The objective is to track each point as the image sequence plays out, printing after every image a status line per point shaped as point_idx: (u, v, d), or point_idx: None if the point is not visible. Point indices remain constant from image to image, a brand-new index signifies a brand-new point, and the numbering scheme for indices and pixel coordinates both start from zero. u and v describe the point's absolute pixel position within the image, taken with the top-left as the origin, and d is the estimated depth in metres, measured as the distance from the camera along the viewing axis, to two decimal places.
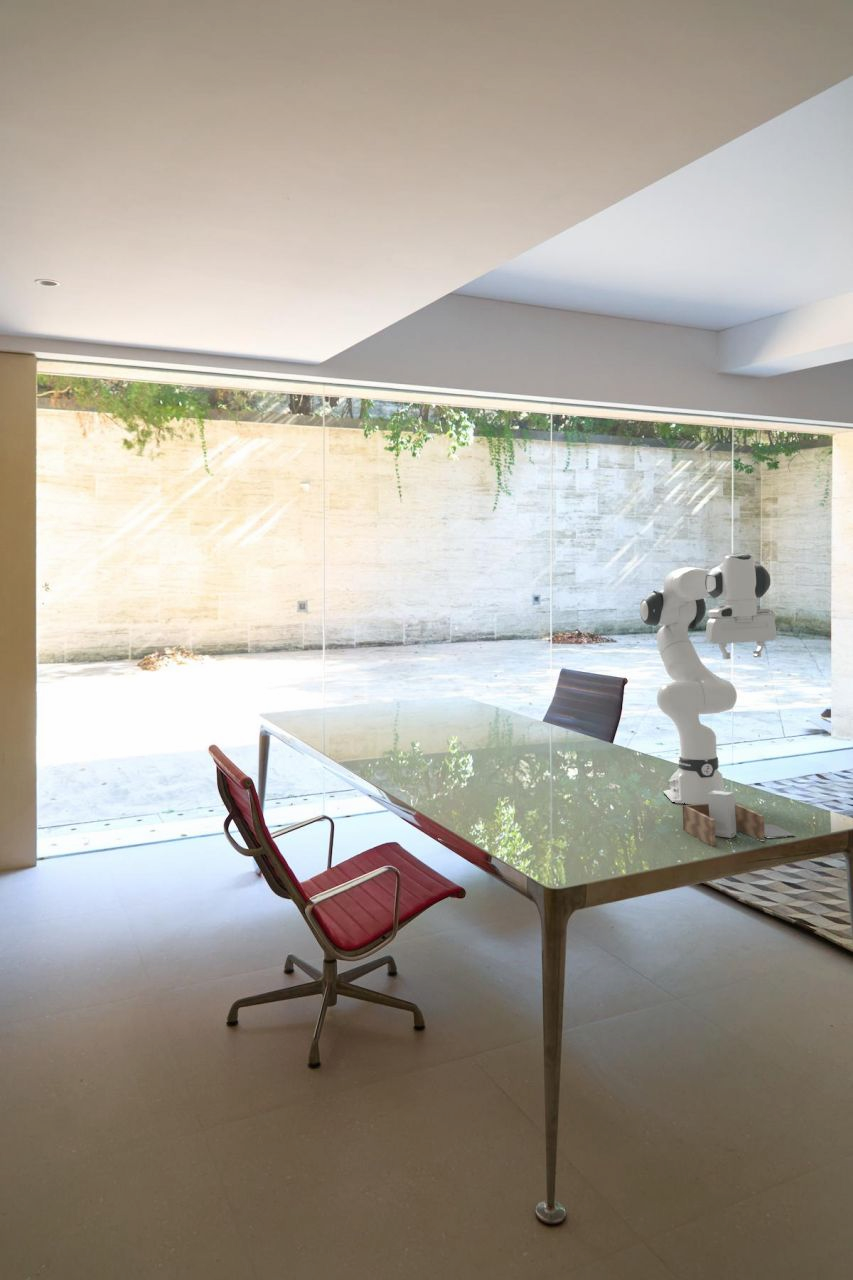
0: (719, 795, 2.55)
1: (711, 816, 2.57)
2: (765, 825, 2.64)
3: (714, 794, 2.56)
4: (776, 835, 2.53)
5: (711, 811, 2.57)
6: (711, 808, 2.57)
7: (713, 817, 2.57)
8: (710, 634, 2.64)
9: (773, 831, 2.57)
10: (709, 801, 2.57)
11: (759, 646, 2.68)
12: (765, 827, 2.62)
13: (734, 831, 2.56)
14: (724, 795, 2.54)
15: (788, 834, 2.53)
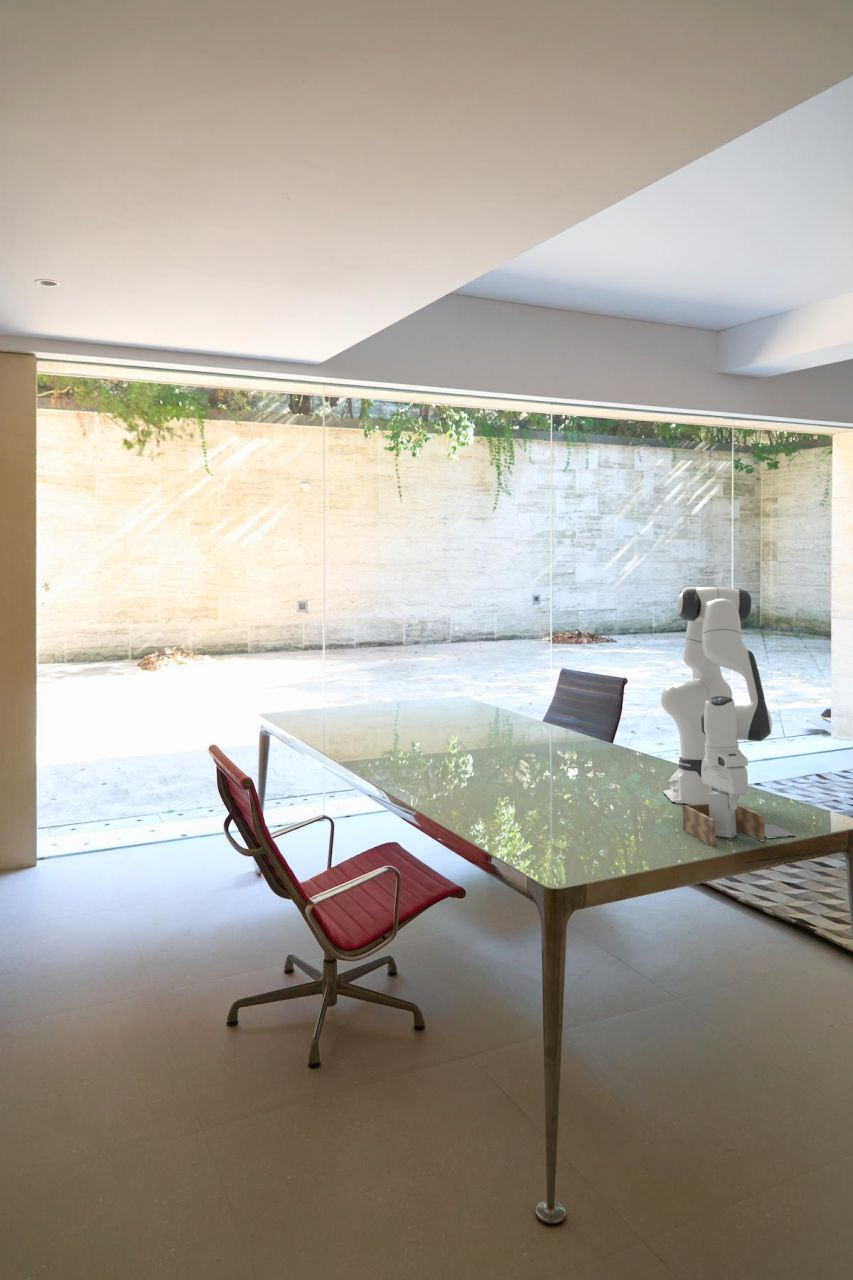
0: (719, 795, 2.55)
1: (711, 816, 2.57)
2: (765, 825, 2.64)
3: (714, 794, 2.56)
4: (776, 835, 2.53)
5: (711, 811, 2.57)
6: (711, 808, 2.57)
7: (713, 817, 2.57)
8: (745, 784, 2.46)
9: (773, 831, 2.57)
10: (709, 801, 2.57)
11: None
12: (765, 827, 2.62)
13: (734, 831, 2.56)
14: (724, 795, 2.54)
15: (788, 834, 2.53)
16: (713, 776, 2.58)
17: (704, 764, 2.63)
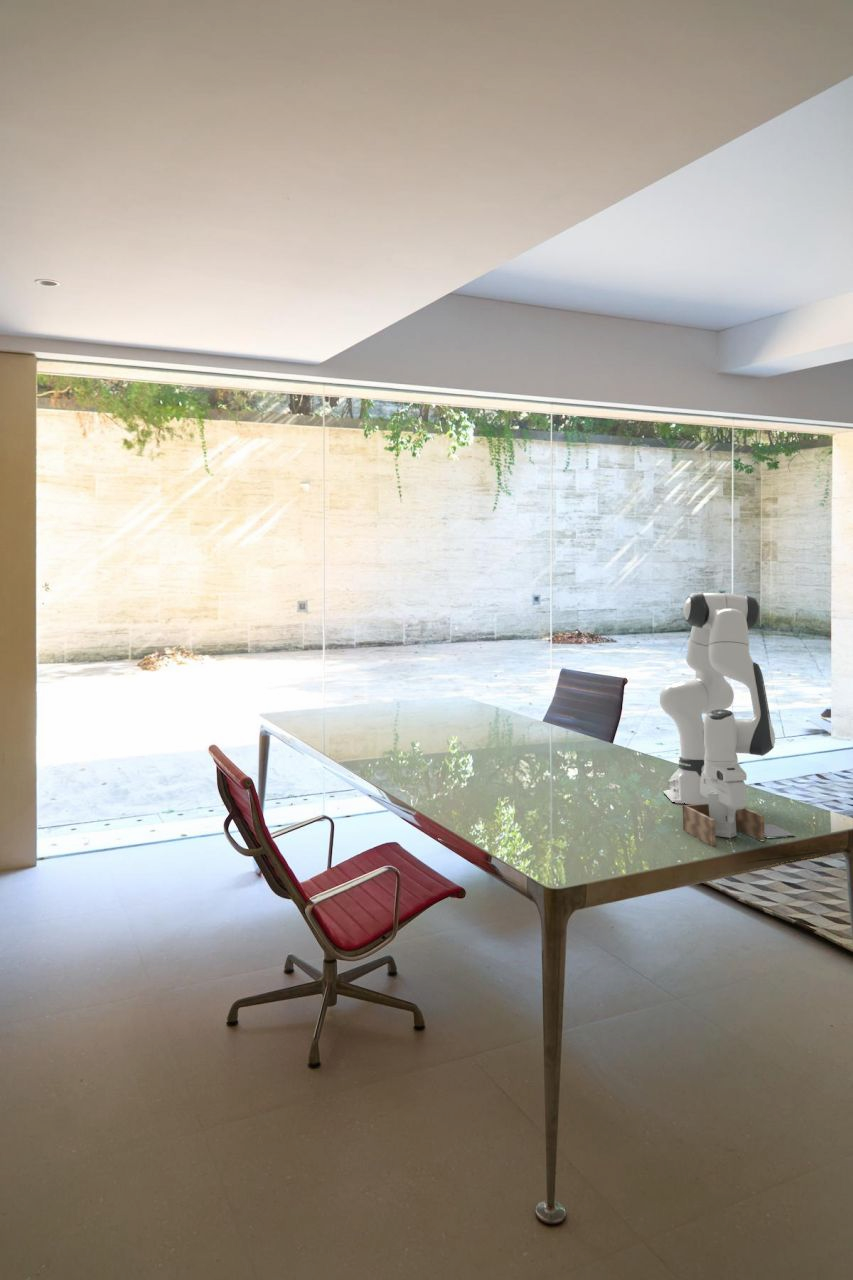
0: None
1: (711, 816, 2.57)
2: (765, 825, 2.64)
3: (714, 794, 2.56)
4: (776, 835, 2.53)
5: (711, 811, 2.57)
6: (711, 808, 2.57)
7: (713, 817, 2.57)
8: (743, 799, 2.47)
9: (773, 831, 2.57)
10: (709, 801, 2.57)
11: None
12: (765, 827, 2.62)
13: (734, 831, 2.56)
14: None
15: (788, 834, 2.53)
16: (712, 789, 2.58)
17: (703, 776, 2.63)
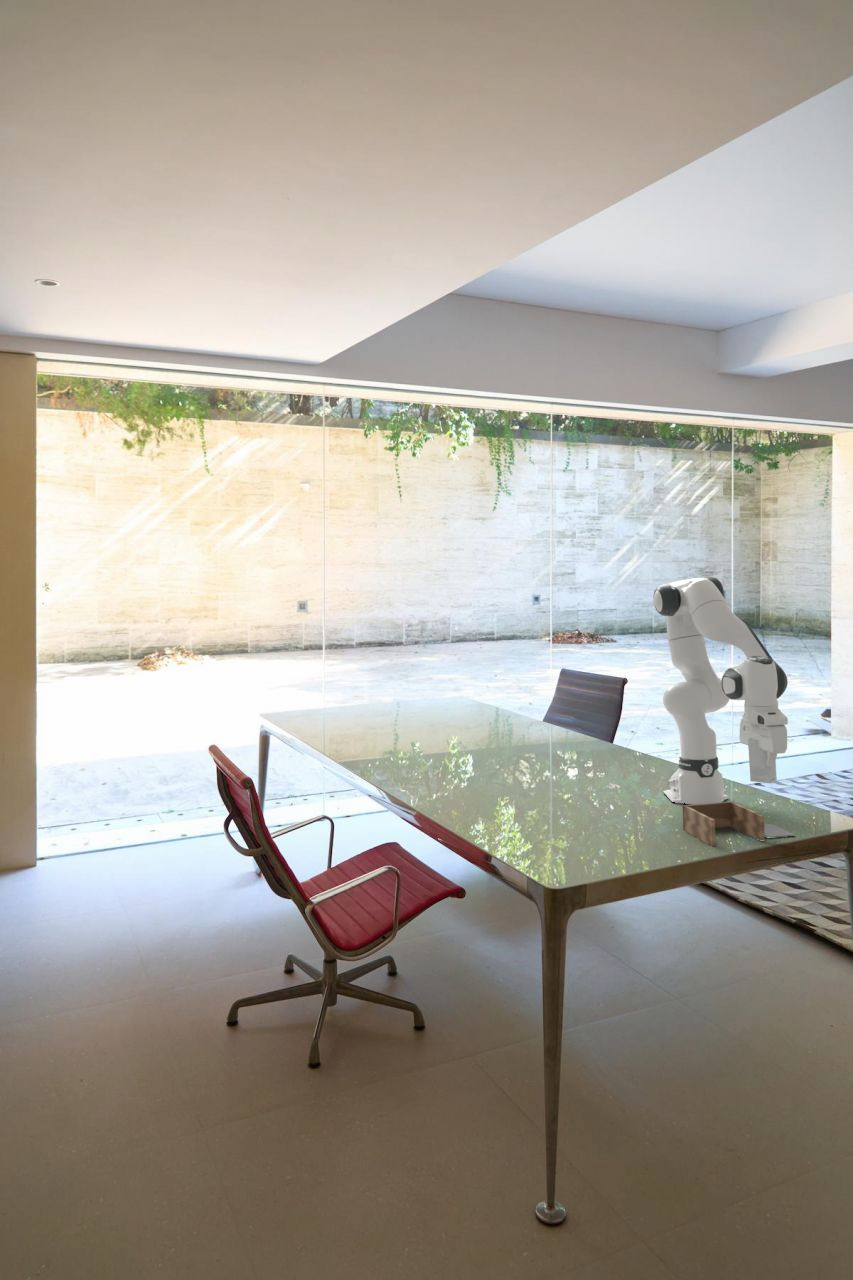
0: None
1: (751, 762, 2.57)
2: (765, 825, 2.64)
3: (754, 740, 2.56)
4: (776, 835, 2.53)
5: (751, 757, 2.57)
6: (751, 754, 2.57)
7: (753, 763, 2.57)
8: (784, 743, 2.47)
9: (773, 831, 2.57)
10: (749, 747, 2.57)
11: None
12: (765, 827, 2.62)
13: (774, 777, 2.56)
14: None
15: (788, 834, 2.53)
16: (752, 735, 2.59)
17: (743, 723, 2.63)
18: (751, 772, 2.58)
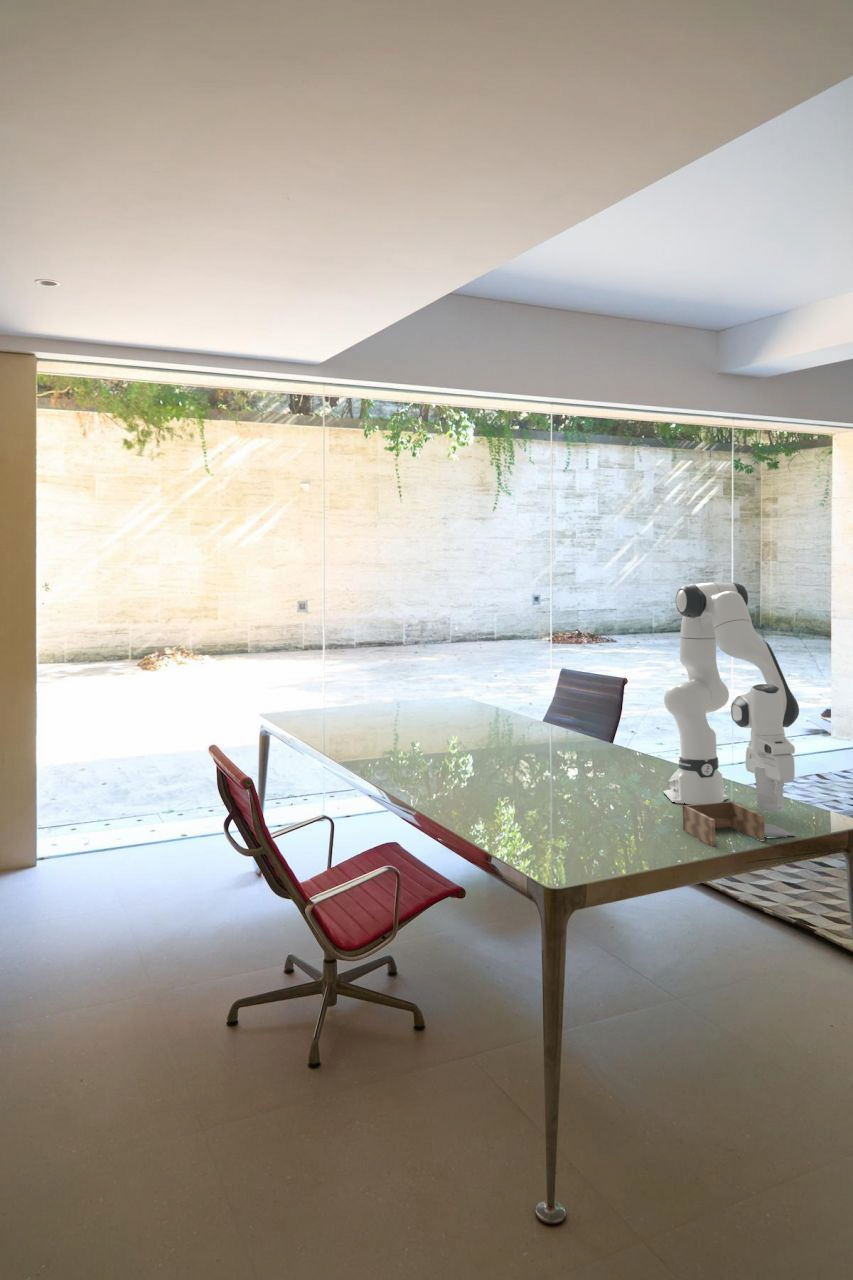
0: None
1: (758, 790, 2.58)
2: (765, 825, 2.64)
3: (761, 768, 2.57)
4: (776, 835, 2.53)
5: (758, 785, 2.57)
6: (758, 782, 2.57)
7: (760, 791, 2.57)
8: (792, 772, 2.48)
9: (773, 831, 2.57)
10: (756, 775, 2.58)
11: None
12: (765, 827, 2.62)
13: (782, 805, 2.56)
14: None
15: (788, 834, 2.53)
16: (759, 763, 2.59)
17: (749, 751, 2.64)
18: (758, 800, 2.58)
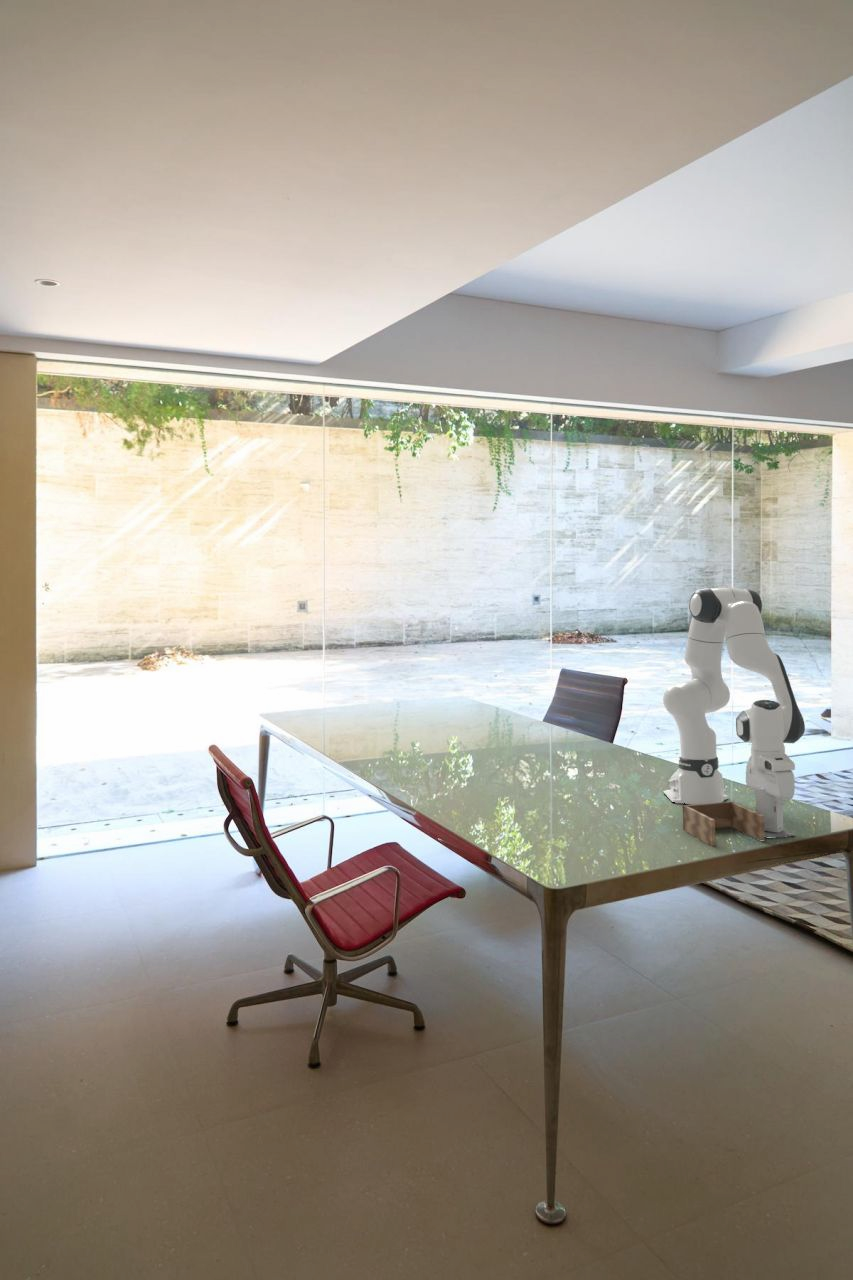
0: None
1: (758, 811, 2.58)
2: None
3: (761, 789, 2.57)
4: (776, 835, 2.53)
5: (758, 806, 2.58)
6: (758, 803, 2.58)
7: (760, 812, 2.58)
8: (792, 789, 2.48)
9: None
10: (756, 796, 2.58)
11: None
12: None
13: (781, 826, 2.57)
14: None
15: (788, 834, 2.53)
16: (759, 779, 2.59)
17: (749, 766, 2.64)
18: None
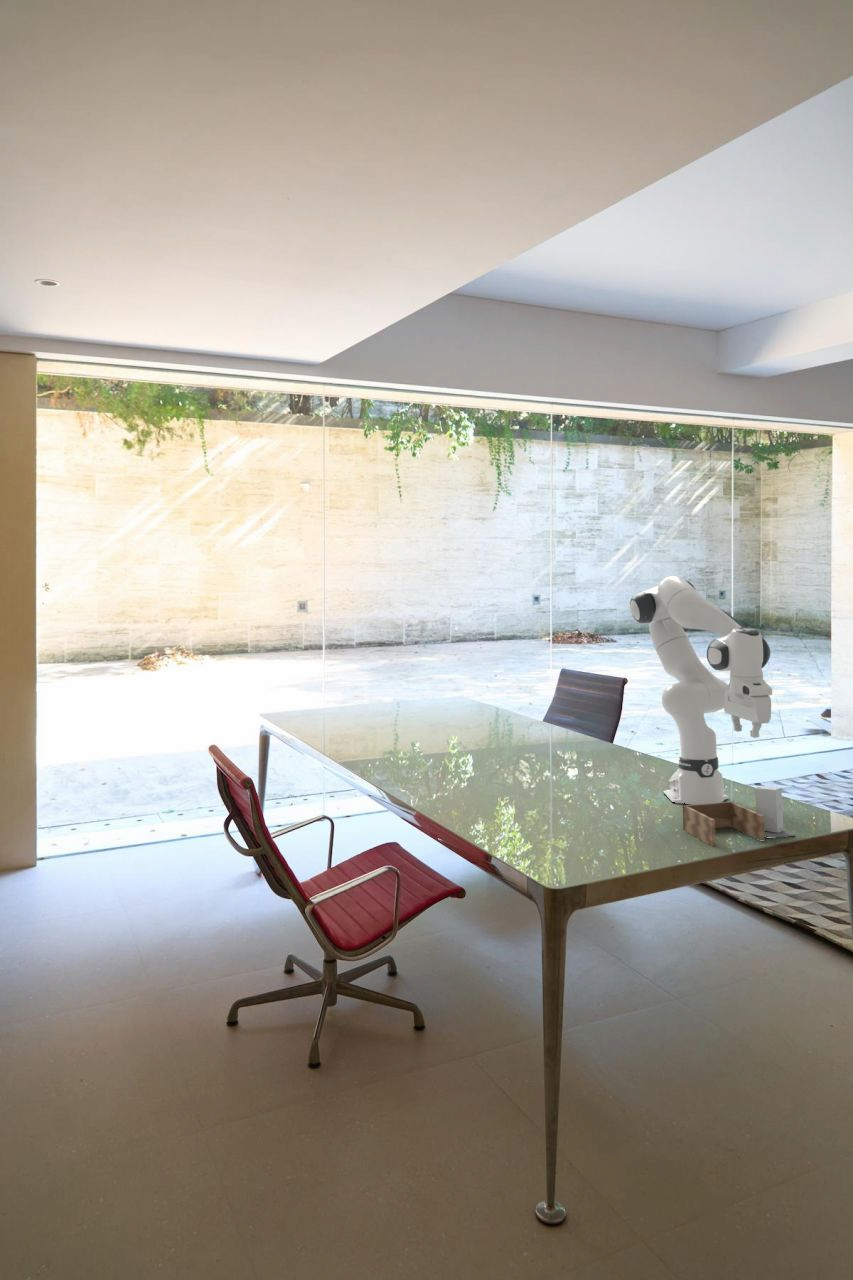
0: (767, 790, 2.56)
1: (758, 811, 2.58)
2: None
3: (761, 789, 2.57)
4: (776, 835, 2.53)
5: (758, 806, 2.58)
6: (759, 803, 2.58)
7: (760, 812, 2.58)
8: (768, 713, 2.52)
9: None
10: (756, 796, 2.58)
11: (736, 720, 2.68)
12: None
13: (781, 826, 2.57)
14: (772, 790, 2.55)
15: (788, 834, 2.53)
16: (736, 705, 2.63)
17: (728, 693, 2.68)
18: None
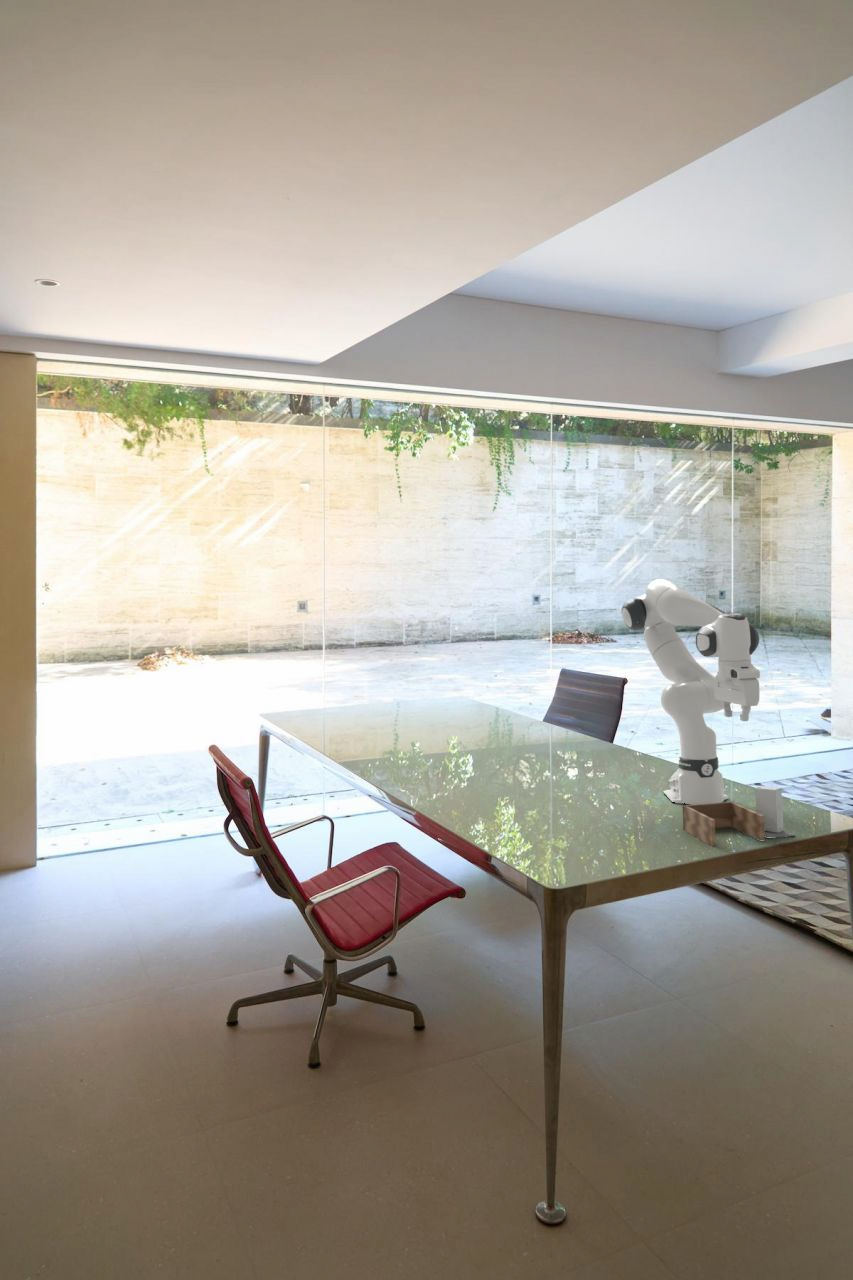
0: (767, 790, 2.56)
1: (758, 811, 2.58)
2: None
3: (761, 789, 2.57)
4: (776, 835, 2.53)
5: (758, 806, 2.58)
6: (758, 803, 2.58)
7: (760, 812, 2.58)
8: (757, 695, 2.54)
9: None
10: (756, 796, 2.58)
11: (726, 705, 2.69)
12: None
13: (781, 826, 2.57)
14: (772, 790, 2.55)
15: (788, 834, 2.53)
16: (726, 690, 2.65)
17: (717, 679, 2.70)
18: None
